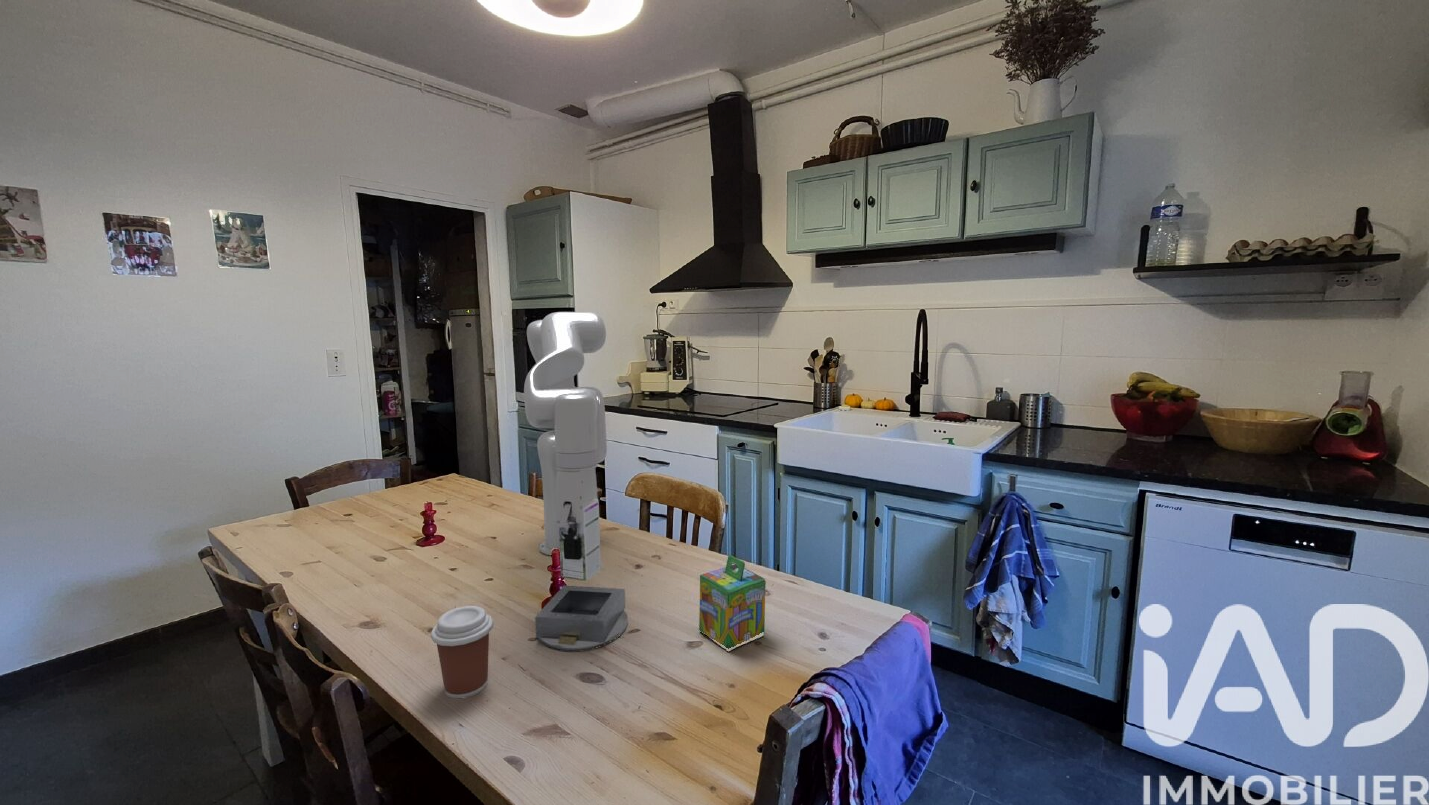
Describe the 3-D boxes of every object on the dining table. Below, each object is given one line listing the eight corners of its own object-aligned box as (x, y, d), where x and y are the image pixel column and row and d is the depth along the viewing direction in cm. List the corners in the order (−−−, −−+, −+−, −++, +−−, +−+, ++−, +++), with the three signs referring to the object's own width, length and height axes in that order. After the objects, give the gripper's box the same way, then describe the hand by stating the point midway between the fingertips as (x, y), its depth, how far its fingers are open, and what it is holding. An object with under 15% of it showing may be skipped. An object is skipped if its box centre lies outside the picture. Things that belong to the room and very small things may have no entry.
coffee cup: (486, 702, 87) (481, 629, 85) (425, 706, 86) (419, 632, 84) (503, 667, 96) (499, 601, 94) (448, 670, 95) (443, 603, 93)
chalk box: (698, 632, 107) (697, 558, 105) (735, 617, 112) (735, 546, 110) (728, 654, 99) (728, 574, 97) (766, 637, 105) (767, 561, 103)
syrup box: (602, 569, 109) (599, 497, 107) (586, 582, 104) (583, 506, 102) (577, 566, 111) (574, 495, 109) (559, 578, 105) (556, 503, 104)
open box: (559, 603, 118) (558, 580, 118) (637, 608, 116) (637, 585, 115) (521, 647, 102) (519, 621, 101) (611, 654, 99) (610, 628, 99)
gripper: (575, 449, 114) (578, 534, 116) (536, 469, 97) (541, 569, 99) (611, 450, 113) (613, 536, 115) (578, 471, 96) (582, 571, 98)
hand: (580, 550), depth 107 cm, fingers closed on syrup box, 6 cm apart
